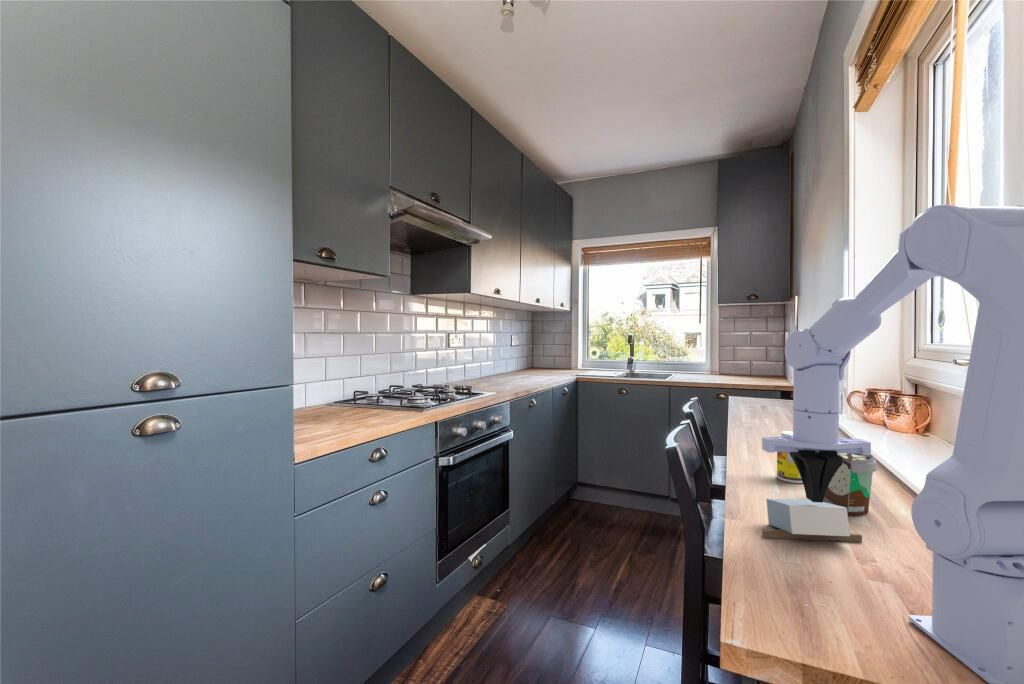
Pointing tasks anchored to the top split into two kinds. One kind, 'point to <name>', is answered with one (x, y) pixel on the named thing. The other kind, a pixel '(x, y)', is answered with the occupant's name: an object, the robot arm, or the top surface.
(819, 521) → the block
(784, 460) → the supplement bottle
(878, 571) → the top surface
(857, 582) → the top surface
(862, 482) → the food container
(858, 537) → the batten
